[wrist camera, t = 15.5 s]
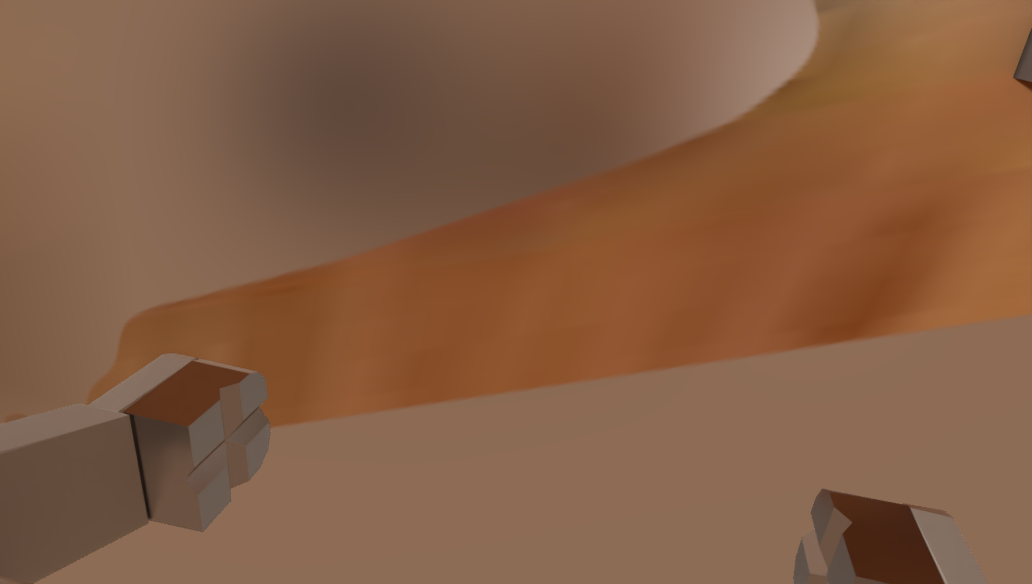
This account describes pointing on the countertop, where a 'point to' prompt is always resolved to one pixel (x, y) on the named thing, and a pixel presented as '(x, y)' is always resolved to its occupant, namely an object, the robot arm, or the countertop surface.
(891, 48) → the countertop surface
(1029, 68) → the tray
